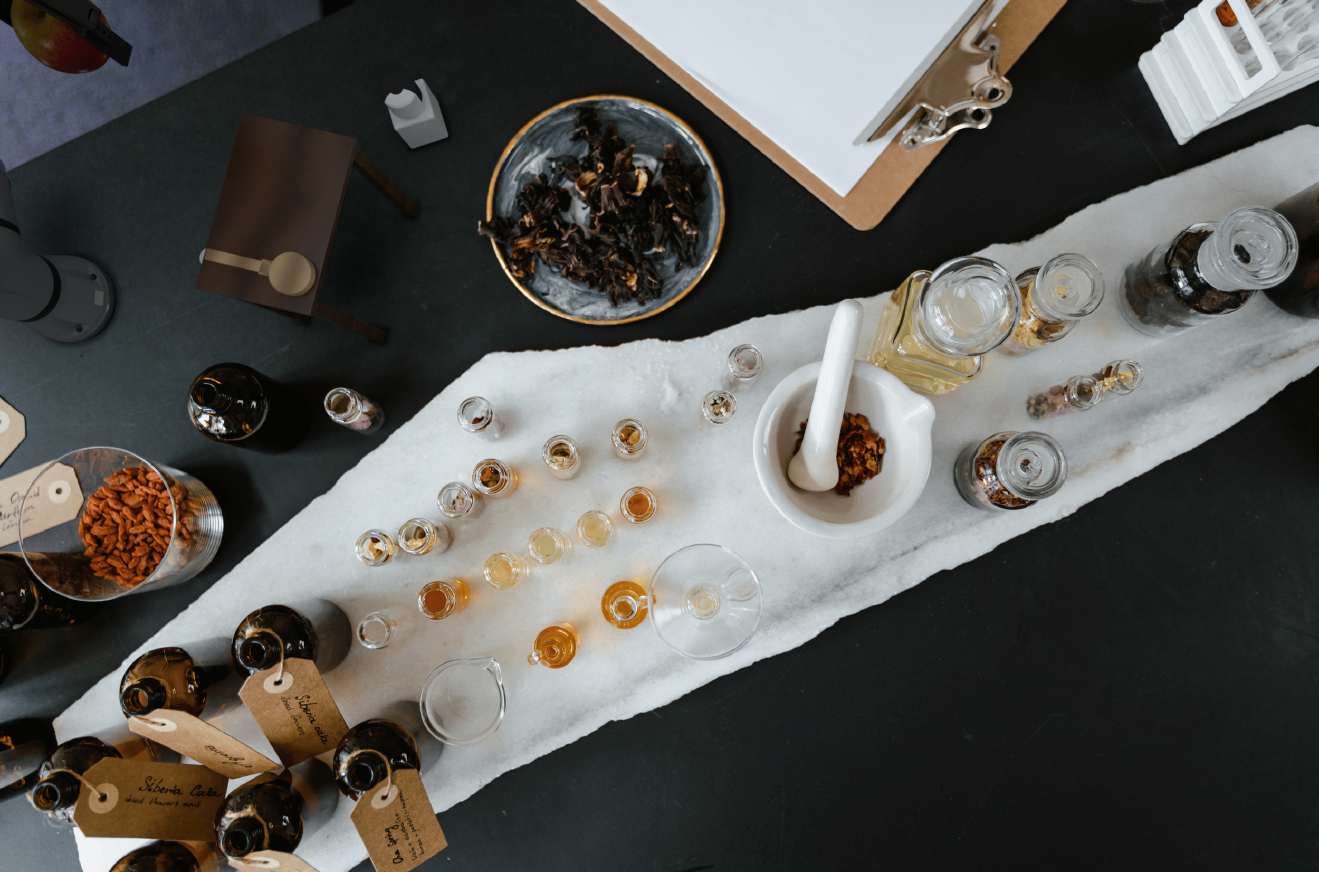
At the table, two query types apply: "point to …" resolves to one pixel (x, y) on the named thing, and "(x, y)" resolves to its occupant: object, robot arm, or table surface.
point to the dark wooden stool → (287, 213)
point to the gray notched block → (413, 109)
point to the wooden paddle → (273, 269)
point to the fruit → (55, 40)
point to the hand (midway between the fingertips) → (90, 48)
